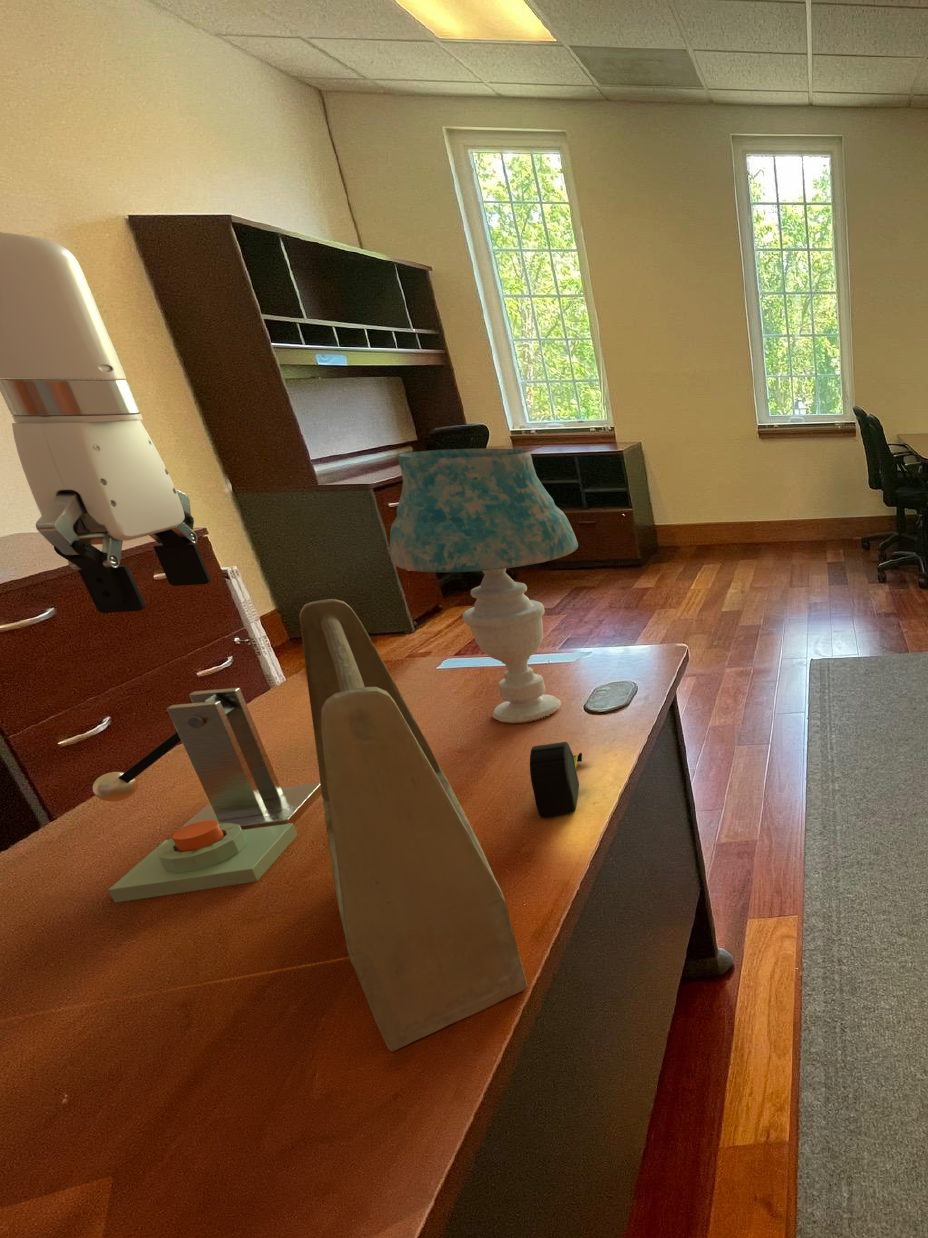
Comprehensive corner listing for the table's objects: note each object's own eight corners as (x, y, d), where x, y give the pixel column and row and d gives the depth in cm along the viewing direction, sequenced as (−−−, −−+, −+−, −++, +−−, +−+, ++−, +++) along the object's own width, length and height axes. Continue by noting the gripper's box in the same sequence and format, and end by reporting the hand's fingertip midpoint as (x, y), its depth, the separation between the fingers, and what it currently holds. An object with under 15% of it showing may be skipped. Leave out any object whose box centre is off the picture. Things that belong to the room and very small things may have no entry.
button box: (114, 903, 72) (99, 875, 71) (171, 852, 80) (157, 826, 79) (257, 881, 76) (245, 854, 74) (298, 835, 84) (287, 809, 82)
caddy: (533, 989, 63) (444, 672, 51) (386, 1057, 56) (244, 713, 44) (464, 841, 83) (388, 590, 71) (350, 879, 76) (245, 609, 64)
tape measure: (576, 815, 88) (563, 758, 85) (537, 821, 87) (522, 764, 83) (583, 761, 100) (573, 710, 97) (549, 766, 99) (537, 714, 96)
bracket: (176, 843, 82) (115, 719, 76) (221, 803, 90) (169, 688, 83) (291, 827, 85) (241, 707, 79) (324, 790, 93) (282, 678, 86)
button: (170, 855, 75) (163, 841, 74) (191, 836, 78) (184, 823, 77) (212, 849, 76) (206, 836, 75) (231, 831, 79) (225, 817, 78)
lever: (109, 812, 81) (76, 794, 80) (130, 797, 84) (98, 779, 82) (226, 720, 81) (195, 700, 79) (242, 708, 84) (213, 688, 82)
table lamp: (456, 695, 121) (386, 448, 105) (607, 676, 130) (564, 445, 114) (426, 757, 101) (335, 463, 85) (607, 729, 110) (555, 457, 94)
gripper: (93, 401, 68) (169, 578, 74) (-81, 406, 52) (35, 627, 59) (190, 401, 70) (255, 573, 76) (50, 405, 54) (147, 619, 61)
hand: (159, 596), depth 68 cm, fingers open, 9 cm apart
